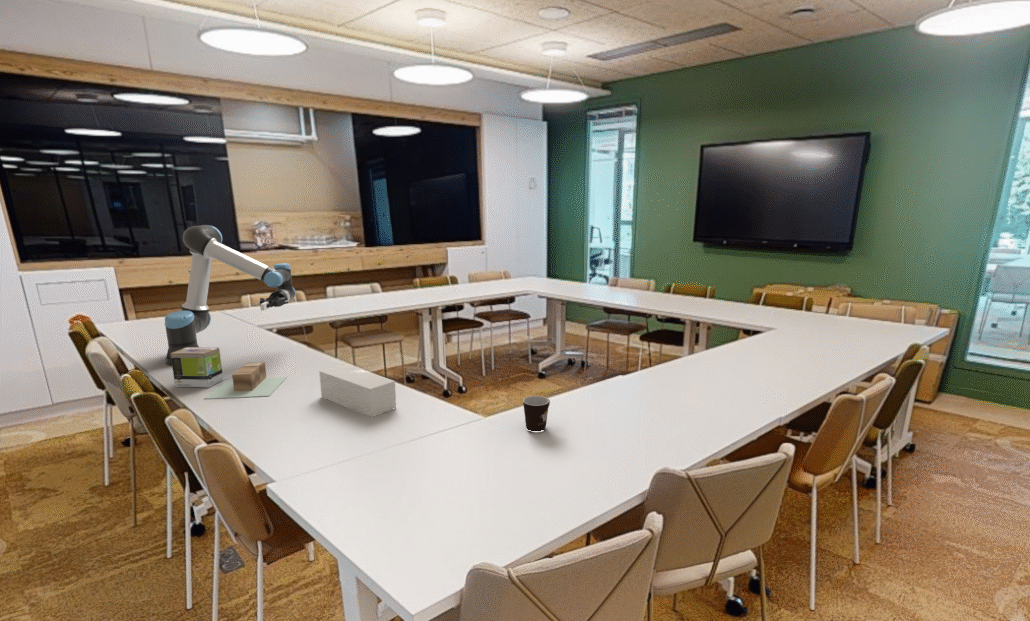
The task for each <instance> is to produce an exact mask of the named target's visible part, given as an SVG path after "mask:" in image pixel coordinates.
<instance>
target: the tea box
mask: <svg viewBox="0 0 1030 621" xmlns="http://www.w3.org/2000/svg"><path fill="white" fill-rule="evenodd" d="M220 352H221V351H220V347H217V346H215V347H202V346H201V347H200V346H199V347H186V348H184V349H181V350H178V351H175V352H173V353H170V354H171V361H172V365H171V368H172V374H173V380H174V385H175V387H176V388H208V389H209V388H211V387H213V386H215V385H217V384H219V383H221V382H223V381H224V378H223V377H224V374H223V368H222V367H223V366H222V359H221V353H220Z"/></svg>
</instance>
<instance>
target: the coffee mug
mask: <svg viewBox="0 0 1030 621" xmlns="http://www.w3.org/2000/svg"><path fill="white" fill-rule="evenodd" d="M522 404H523V413H524V420H525V429H526V428H527V429H528V430H531V431H541V430H544V429H545V428H546V429H547V420H548V412H549V407H550V404H551V402H550V399H549V398H548V397H546V396H542V395H541V396H540V395H529V396H527V397H524V398H523V400H522ZM546 429H545V430H546Z"/></svg>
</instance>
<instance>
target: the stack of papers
mask: <svg viewBox="0 0 1030 621" xmlns="http://www.w3.org/2000/svg"><path fill="white" fill-rule="evenodd" d="M318 373H319V384H320V395H321V396H320V397H321V398H323V399H325V400H329V401H331V402H334V403H336V404H338V405H341V406H343V407H346V408H347V409H351V410H353V411H355V410H356V412H358V413H360V412H361V413H360V414H363V415H365V414H366V416H368V415H369V416H368V417H370V416H371V417H370V418H374V417H373V416H375V417H377V416H379V415H378V414H380V415H382V414H384V413H383V412H385V413H387V412H390V411H392V410H391V409H393V408H395V409H397V399H396V398H397V396H396V395H397V394H396V381H395V380H393V379H391V378H387V377H384V376H381V375H377V374H374V373H372V372H368V371H366V370H362V369H358V368H355V367H352V366H350V365H346V364H340V365H338V366H334V367H330V368H327V369H322V370H319V372H318ZM389 410H390V411H389ZM393 410H394V409H393ZM386 411H387V412H386ZM381 413H382V414H381ZM376 415H377V416H376Z"/></svg>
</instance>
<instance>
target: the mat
mask: <svg viewBox="0 0 1030 621" xmlns="http://www.w3.org/2000/svg"><path fill="white" fill-rule="evenodd" d="M287 378H288V377H286V376H285V377H284V376H283V377H282V376H281V377H266V378H265V379H264V380H263V381H262V382H261V383H260V384H259V385H258V386H257V387H256V388H255V389H254V390H253V391H234V385H233V378H232V379H226V380H225V381H224V382H223V383H222V384H220V385H219V386H218V387H216V389H214V390H213V391H211V392H210V393H209V394H208V395H206V396H205V397H204V398H203V399H204V400H212V399H213V400H214V399H215V400H217V399H237V398H238V399H239V398H262V397H270V396H272V394H274V392H275V391H276V390H277V389H278V388H279V386H281V385H282V384H283V383H284V382H285V380H286V379H287Z"/></svg>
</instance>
